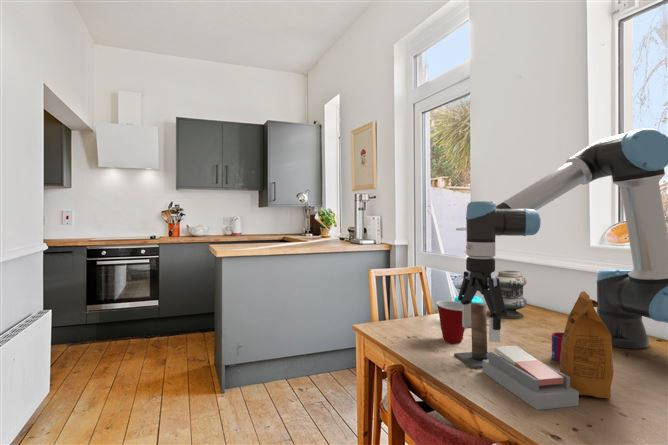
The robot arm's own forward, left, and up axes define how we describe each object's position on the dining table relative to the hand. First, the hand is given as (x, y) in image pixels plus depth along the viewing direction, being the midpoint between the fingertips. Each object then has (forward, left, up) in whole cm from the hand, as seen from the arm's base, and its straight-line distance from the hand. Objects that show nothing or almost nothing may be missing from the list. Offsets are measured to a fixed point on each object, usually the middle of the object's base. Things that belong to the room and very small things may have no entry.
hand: (480, 333), depth 107 cm
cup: (-25, +5, -8) cm, 27 cm away
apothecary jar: (-39, -42, -8) cm, 58 cm away
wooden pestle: (0, 0, -7) cm, 7 cm away
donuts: (-16, -34, -8) cm, 38 cm away
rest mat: (0, 0, -7) cm, 7 cm away
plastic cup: (-1, -17, -8) cm, 19 cm away
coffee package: (-14, +20, -8) cm, 26 cm away
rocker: (-2, +17, -3) cm, 17 cm away
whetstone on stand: (-2, +17, -7) cm, 19 cm away
